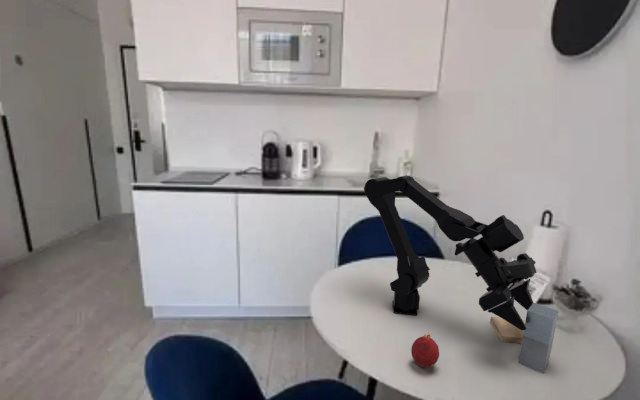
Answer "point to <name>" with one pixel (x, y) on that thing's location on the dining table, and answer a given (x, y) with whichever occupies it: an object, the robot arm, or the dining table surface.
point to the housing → (538, 337)
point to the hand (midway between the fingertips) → (530, 321)
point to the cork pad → (507, 330)
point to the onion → (425, 351)
